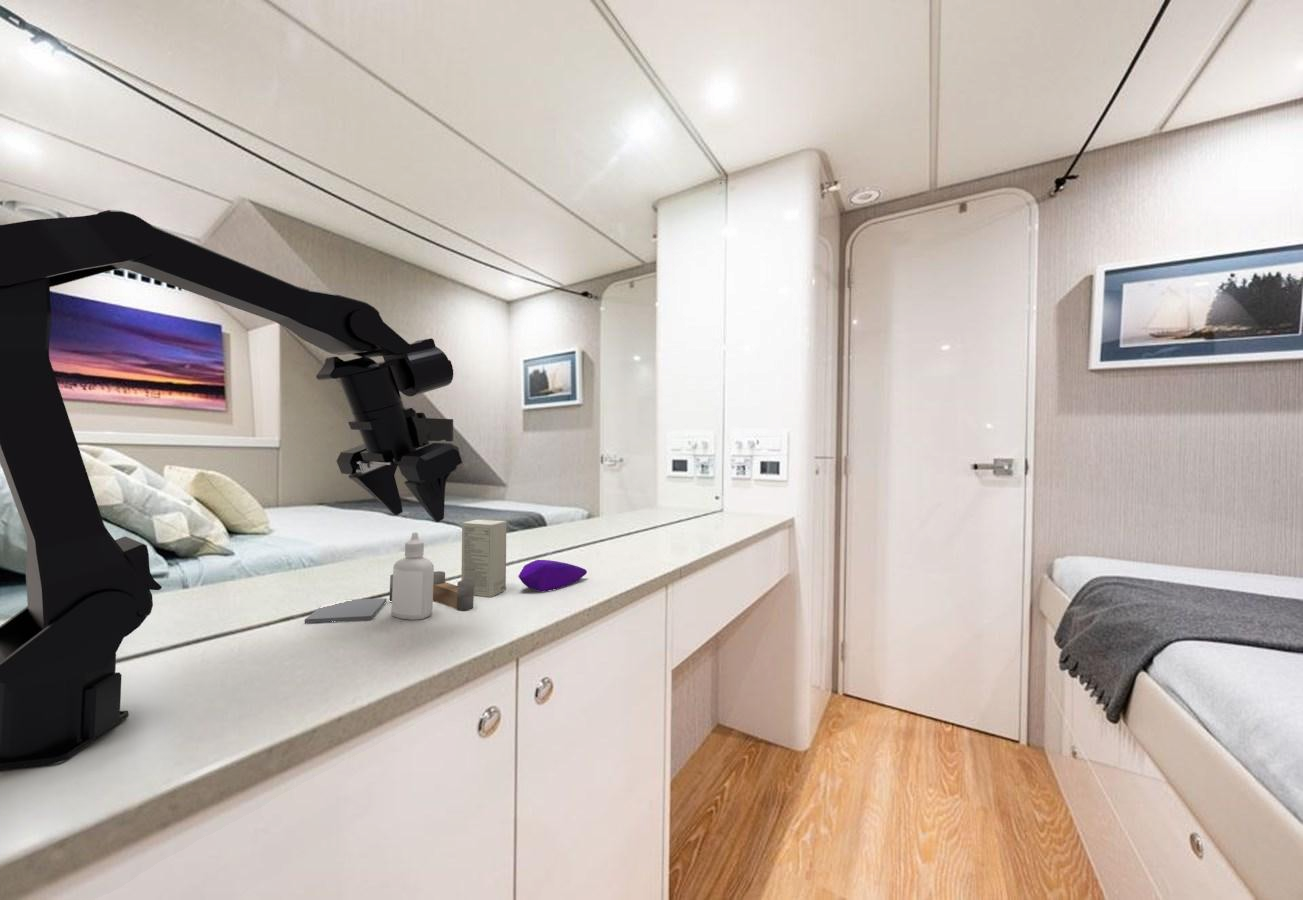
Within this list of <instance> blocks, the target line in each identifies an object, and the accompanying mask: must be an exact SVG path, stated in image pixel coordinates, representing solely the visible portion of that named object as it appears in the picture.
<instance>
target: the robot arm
mask: <svg viewBox="0 0 1303 900" xmlns="http://www.w3.org/2000/svg"><path fill="white" fill-rule="evenodd" d="M116 270H125V271H126V270H127V271H131V272H133V273H136V274H139V275H142V276H144V277H147V278H150V279H152V280H153V279H154V280H156V281H159V282H162V283H165V284H166V285H167V284H168V285H170V286H173V287H175V288H178V289H181V290H184V291H186V292H190V293H192V294H195V295H198V296H201V297H204V298H206V299H210V300H213V301H215V302H217V303H221V304H224V305H226V306H229V307H232V308H235V309H238V310H240V311H244V312H246V313H250V314H252V315H254V316H258V317H260V318H264V319H266V320H269V321H271V322H272V321H273V322H275V323H276V324H279V325H280V326H282V327H285V328H286V329H288V330H289V331H290V332H292V333H293V334H294V335H295V336H297V338H298V337H299V338H300V339H301V340H303V341H305V342H307V343H309V344H310V345H313V346H314V347H316V348H318V349H320V350H322V351H324V352H326V353H329V354H332V355H338V356H345V355H354V356H357V357H358V358H351V359H349V360H343V359H341V358H340V357H338V356H331V357H325V360H324V364H323V366H322V367H321V369H319V371H318V372H317V373H316V375H315V376H316V378H315V379H317V380H318V381H325V380H327V381H329V380H336V379H338V380H339V382H340V386H341V388H342V390H343V393H344V396H345V398H346V401H347V403H348V406H349V408H350V412H351V413H352V417H353V418H354V419H353V420H350V421H348V422H347V423H348V425H349V428H350V430H355V431H356V430H358V432H359V433H360V436H361V439H362V441H363V443H362V444H360V445H357V446H354V447H351V448H349V449H346V450H343V451H341V452H340V453H339V455H338V457H337V459H336V463H337V466H338V469H339V471H340V473H341V474H342V475H343V474H344V475H348V479H349V480H352V481H354V483H356V484H357V485H359V486H360V487H361V488H362V489H364V491H366V492H367V493H368V494H370V496H372V497H373V498H374V499H376V501H378V502H379V503H380V504H381V505H382V506H383V507H385V508H386V509H387V510H389V511H388V512H390V513H392V514H393V515H394V516H398V515H400V514H402V513H403V506H402V504H403V503H402V501H401V497H400V492H399V488H398V484H397V480H396V475H395V474H396V471H397V469H398V468H399V471H400V473H401V475H402V476H403V477H404V479H406V481H404V482H403V483H404V485H405V486H406V487H407V489H408V490H409V491H410V492H411V494H412V495H413V496H414V498H415V499H416V500H417V501H418V502H419V504H420V505H421V506H422V508H423V509H424V511H426V513H427V514H428V515H429V516H430V518H432V520H433V521H434V522H436V523H439V522H441V521H442V520H444V519H445V502H446V501H445V499H446V484H447V480H448V478H449V477H450V475H451V473H452V472H454V471H456V470H457V469H458V466H459V465H461V464H463V463H464V460H463V459H464V458H463V457H462V454H461V451H460V447H458V446H456V445H455V444H453V443H450V442H454V419H453V418H433V417H432V418H431V417H430V418H429V417H428V418H427V416H426V414H425V412H417V411H416V410H415V409H414V408H413V407H405V404H404V401H403V399H402V396H401V394H400V393H402V394H403V395H405V396H406V397H411V398H412V397H416V396H419V395H421V394H425V393H428V392H431V391H434V390H437V389H441V388H443V387H444V388H445V387H446V386H450V384H451V383H452V382H453V380H454V369H453V368H454V367H453V364H452V361H451V360H450V359H449V357H448V356H447V354H446V353H445V352H444V351H443V350H442V349H440V348H439V347H437V345H436V344H435V340H434V339H433V338H432V337H431V338H425V339H421V340H419V339H418V340H416V341H414V342H411V343H409V342H408V341H407V340H405V339H404V337H403V338H402V336H401V335H400V334H399V333H397V332H396V331H395V330H394V329H392V327H390V326H389V325H388V324H387V323H386V322H384V320H383V319H382V317H381V315H380V311H379V310H378V309H377V308H375V307H374V306H373V305H371V304H369V303H368V302H365V301H362V300H358V299H355V298H352V297H348V296H345V295H340V294H337V293H331V292H325V291H319V290H318V291H317V290H313V289H307V288H305V287H300V286H297V285H294V284H291V283H289V282H287V281H285V280H282V279H280V278H278V277H276V276H273V275H271V274H268V273H266V272H263V271H260V270H259V269H256V268H254V267H251V266H249V265H247V264H244V263H242V262H240V261H238V260H235V259H232V258H230V257H228V256H226V255H223V254H221V253H219V252H216V251H214V250H212V249H208V248H207V247H204V246H202V245H199V244H197V243H195V242H192V241H189V240H187V239H186V238H183V237H180V236H178V235H175V234H174V233H171V232H168V231H166V230H164V229H162V228H159V227H157V226H155V225H153V224H151V223H149V222H147V221H146V220H144V219H143V218H141V217H139V216H137V215H135V214H133V213H130V212H126V211H123V210H120V209H119V210H115V209H107V210H103V211H100V212H98V213H96V214H95V213H94V214H89V215H82V216H66V217H55V218H53V217H50V218H39V219H31V220H26V221H19V222H18V221H17V222H13V223H5V224H0V466H1V468H2V471H3V474H4V476H5V480H6V482H7V485H8V488H9V491H10V493H11V495H12V496H11V497H12V498H13V501H14V504H15V507H16V509H17V512H18V515H19V518H20V521H21V523H22V526H23V529H24V532H25V534H26V542H27V543H26V544H27V545H26V563H25V565H26V566H25V584H26V585H25V586H26V598H27V600H26V601H27V606H26V607H24V608H23V609H21V610H20V611H19V612H17V613H16V614H15V615H13V616H12V617H11V618H9V619H8V620H6V621H5V622H4V623H2V624H1V625H0V770H5V769H14V768H22V767H32V766H40V765H49V764H57V763H60V762H63V761H64V760H68V759H69V758H70V757H71V756H73V755H75V754H77V752H80V751H81V750H82V749H83V748H85V747H87V746H88V745H89V744H91V743H92V742H94V741H95V740H97V739H98V738H99V737H101V736H103V734H105V733H107V732H108V731H109V730H111V729H113V728H114V727H116V726H118V725H119V724H120V723H121V722H123V721H124V720H126V719H127V718H128V717H129V712H130V711H129V710H128V709H127V710H121V694H122V674H121V673H120V672H116V667H117V666H116V665H117V652H118V650H119V647H120V646H121V644H122V642H123V640H124V638H126V637H128V636H129V635H130V634H132V633H133V632H135V630H137V629H138V628H140V627H141V625H142V624H143V622H144V621H145V620H146V619H147V617H148V616H150V614H151V613H152V610H153V607H154V601H153V600H154V599H153V594H152V592H151V591H160V590H161V589H162V588H163V586H162V585H161V584H159V582H158V581H156V580H155V579H154V577H153V575H152V572H151V570H150V568H151V567H150V554H149V549H148V545H147V544H145V543H142V542H140V541H138V540H136V539H133V538H130V537H128V536H122V537H120V538H119V537H118V538H117V539H115V538H114V537H113V536H112V535H111V533H110V532H109V530H108V529H107V527H106V526H105V523H104V520H103V517H102V514H101V510H100V508H99V505H98V502H97V499H96V496H95V492H94V490H93V486H92V484H91V480H90V478H89V475H88V472H87V469H86V466H85V462H84V460H83V456H82V453H81V451H80V448H79V444H78V440H77V438H76V436H75V432H74V430H73V426H72V424H71V419H70V418H69V414H68V412H67V409H66V405H65V401H64V399H63V395H62V393H61V390H60V386H59V384H58V380H57V377H56V375H55V372H54V369H53V365H52V361H51V359H50V335H51V320H52V310H51V309H52V307H51V306H52V304H51V303H52V302H51V290H50V289H51V288H53V287H58V286H61V285H64V284H67V283H68V284H69V283H72V282H75V281H79V280H83V279H86V278H89V277H93V276H97V275H101V274H103V273H108V272H112V271H116ZM378 357H382V358H383V361H380V362H376V361H375V360H374V359H372V358H378ZM441 441H445V442H446V443H444V442H442V443H441ZM430 442H433V443H430ZM447 442H448V443H447Z"/></svg>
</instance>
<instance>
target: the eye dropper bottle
mask: <svg viewBox="0 0 1303 900" xmlns="http://www.w3.org/2000/svg"><path fill="white" fill-rule="evenodd" d="M424 548H425V542H424V541H423V540H420V537H419V533H418V532H412V533H411V537H410V539H409V541H406V542H405V543H404V557H403V558H401V559H399V560H396V561H395V563H394V564H393V571H392V575H393V586H392V603H391V615H392V616H393V617H395V618H397V619H400V620H401V619H403V620H413V621H414V620H415V621H416V620H419V621H420V620H423V619H425V618H428V617H430V616H432V614H433V603H434V600H433V582H434V572H435V571H434V570H435V566H434V564H433V562H432V561H431V560H430V559H428V558H426V557H424V556H425V555H424V554H425V553H424V552H425V551H424Z"/></svg>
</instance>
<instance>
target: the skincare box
mask: <svg viewBox="0 0 1303 900" xmlns="http://www.w3.org/2000/svg"><path fill="white" fill-rule="evenodd" d="M506 579H507V520H496V519H495V520H493V519H482V518H481V519H480V518H479V519H472V520H468V521H467V520H466V521H464V522H463V521H462V522H461V580H460V581H462V580H473V581H474V596H479V597H490V598H492V597H494V596H496V595H498V594H500V593H503V592H504V591H506V587H507V586H506V585H507V581H506Z"/></svg>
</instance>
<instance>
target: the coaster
mask: <svg viewBox="0 0 1303 900" xmlns="http://www.w3.org/2000/svg"><path fill="white" fill-rule="evenodd" d="M387 599H388V598H387V597H384V598H383V597H381V598H380V597H379V598H364V599H363V598H362V599H361V598H360V599H358V598H357V599H351V600H352V601H346V602H344V603H339V604H335V605H332V606H327V607H323V608H320V607H318V608H317V609H316V610H314V611H313V612H312V613H310V614H309V615H308V616H306V617H305V619H304V623H309V624H318V623H317V622H327V623H338V622H337V621H345V622H359V621H360V620H361V621H372V619H374V617H375V616H376V615H377V614H378V613H379V611H380V610H381V609H382V608H383V607H384V606H385V604H386V603H387V602H388V601H387ZM386 601H387V602H386ZM385 602H386V603H385ZM384 603H385V604H384ZM383 605H384V606H383ZM382 606H383V607H382ZM381 607H382V608H381ZM376 613H377V614H376ZM332 621H333V622H332ZM334 621H336V622H334ZM361 621H360V622H361ZM315 622H316V623H315Z"/></svg>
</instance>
